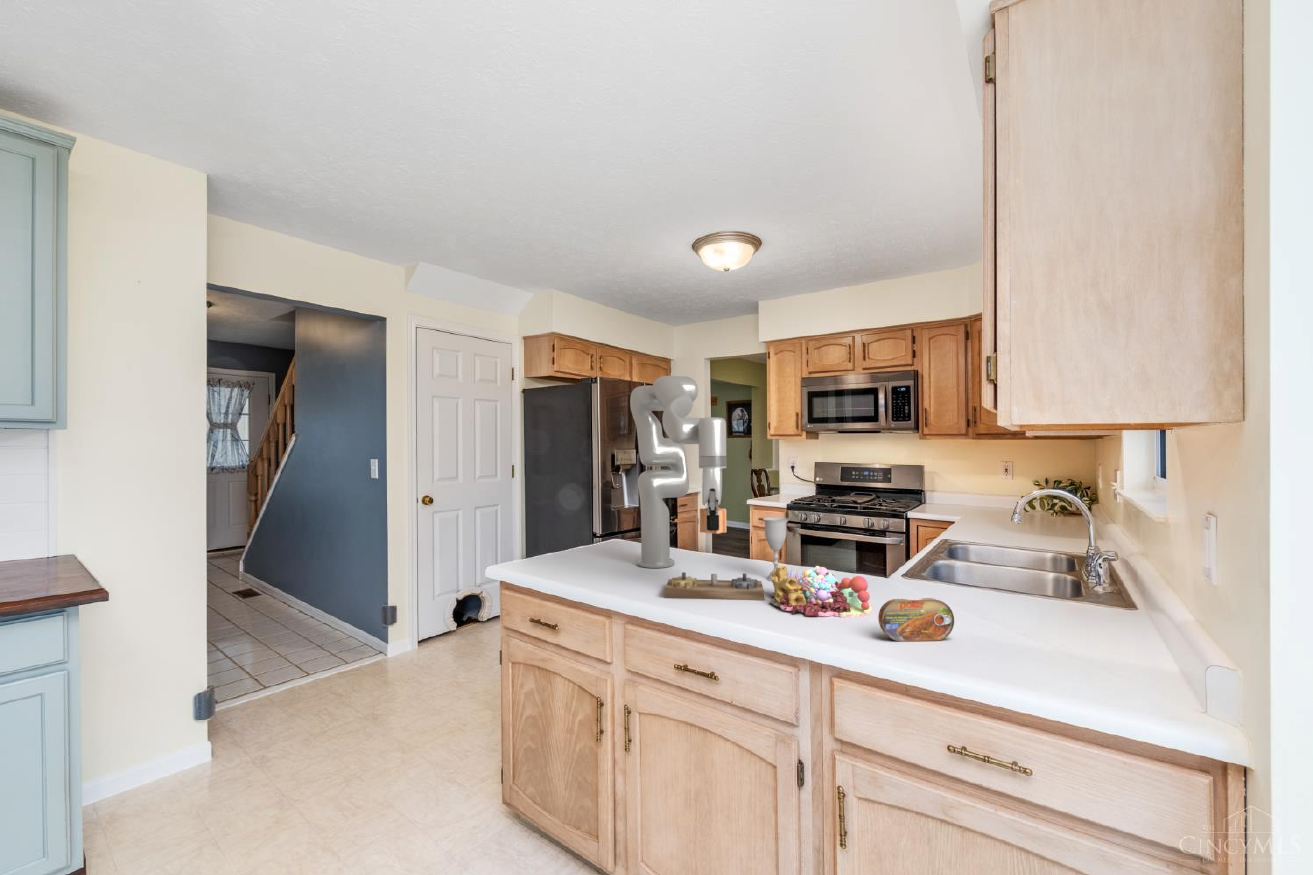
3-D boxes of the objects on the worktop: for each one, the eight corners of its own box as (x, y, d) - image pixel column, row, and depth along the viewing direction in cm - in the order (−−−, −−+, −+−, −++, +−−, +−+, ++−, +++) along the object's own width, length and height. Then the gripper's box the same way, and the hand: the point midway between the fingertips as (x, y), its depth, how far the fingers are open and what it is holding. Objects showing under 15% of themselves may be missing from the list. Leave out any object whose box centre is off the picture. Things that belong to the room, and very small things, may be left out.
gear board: (668, 586, 162) (668, 567, 162) (761, 588, 159) (761, 569, 159) (664, 597, 150) (664, 577, 150) (764, 600, 147) (764, 579, 147)
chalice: (787, 577, 171) (786, 517, 172) (790, 582, 165) (789, 520, 165) (762, 576, 172) (761, 517, 172) (764, 582, 165) (763, 520, 165)
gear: (700, 529, 159) (700, 507, 159) (726, 529, 158) (726, 507, 158) (699, 533, 152) (699, 510, 152) (726, 533, 151) (726, 511, 151)
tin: (882, 642, 116) (882, 601, 116) (876, 637, 119) (876, 596, 119) (955, 641, 117) (955, 599, 117) (947, 635, 120) (946, 595, 120)
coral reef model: (782, 620, 132) (782, 580, 132) (758, 593, 155) (758, 559, 155) (888, 617, 133) (887, 578, 133) (848, 591, 156) (848, 557, 157)
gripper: (700, 461, 164) (700, 523, 164) (697, 464, 147) (698, 533, 146) (726, 461, 163) (726, 523, 163) (726, 464, 146) (727, 533, 146)
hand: (713, 527), depth 155 cm, fingers closed on gear, 7 cm apart
